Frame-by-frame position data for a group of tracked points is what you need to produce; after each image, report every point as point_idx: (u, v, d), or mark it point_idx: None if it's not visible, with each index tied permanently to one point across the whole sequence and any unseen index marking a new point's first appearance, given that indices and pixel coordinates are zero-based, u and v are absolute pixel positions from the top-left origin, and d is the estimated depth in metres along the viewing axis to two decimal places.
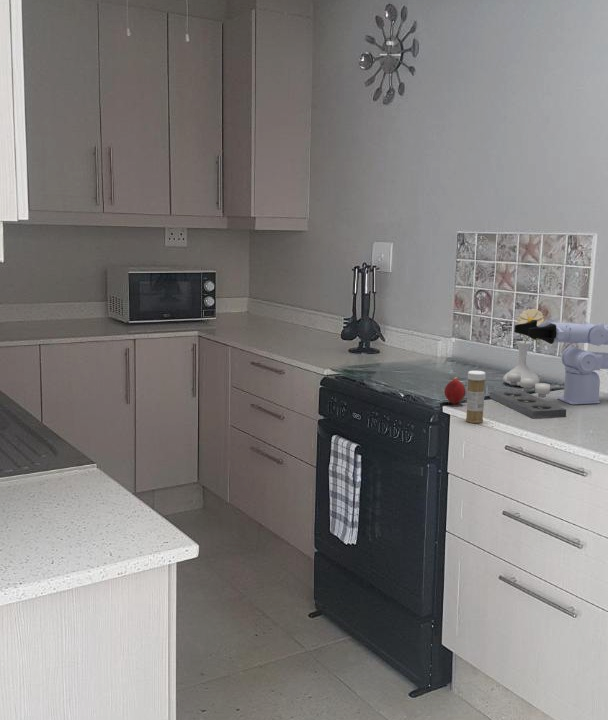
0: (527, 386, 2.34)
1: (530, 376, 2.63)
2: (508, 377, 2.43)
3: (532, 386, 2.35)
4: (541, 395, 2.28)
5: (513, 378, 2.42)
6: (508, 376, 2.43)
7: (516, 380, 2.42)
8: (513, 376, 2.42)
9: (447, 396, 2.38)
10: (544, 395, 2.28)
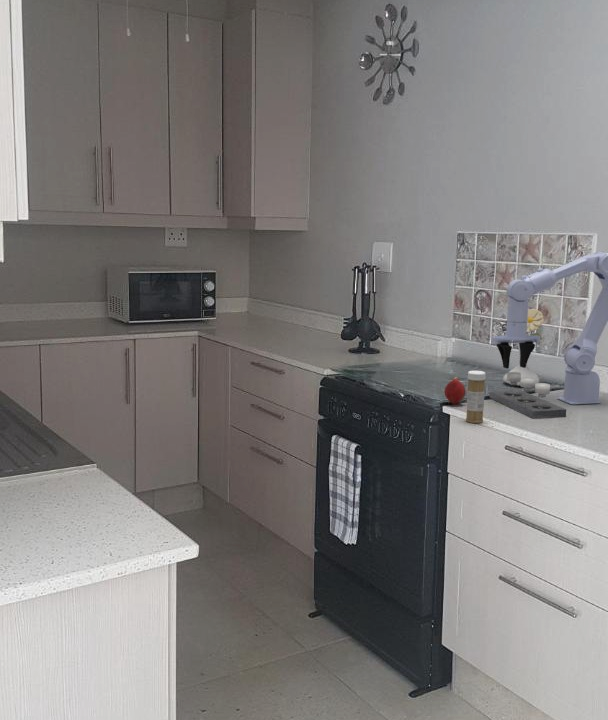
0: (527, 386, 2.34)
1: (530, 376, 2.63)
2: (508, 377, 2.43)
3: (532, 386, 2.35)
4: (541, 395, 2.28)
5: (513, 378, 2.42)
6: (508, 376, 2.43)
7: (516, 380, 2.42)
8: (513, 376, 2.42)
9: (447, 396, 2.38)
10: (544, 395, 2.28)
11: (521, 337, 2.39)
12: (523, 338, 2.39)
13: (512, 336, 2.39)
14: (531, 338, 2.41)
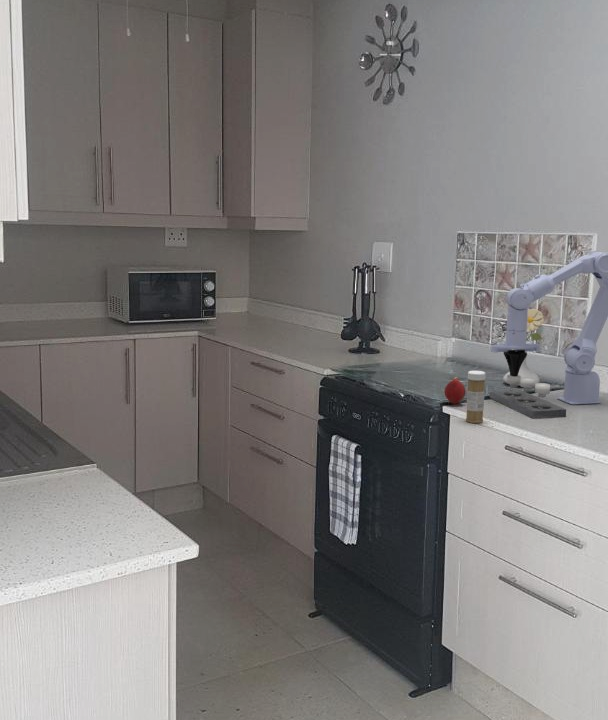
0: (527, 386, 2.34)
1: (530, 376, 2.63)
2: (508, 380, 2.43)
3: (532, 386, 2.35)
4: (541, 395, 2.28)
5: (513, 380, 2.42)
6: (508, 379, 2.43)
7: (516, 383, 2.42)
8: (512, 379, 2.42)
9: (447, 396, 2.38)
10: (544, 395, 2.28)
11: (520, 346, 2.39)
12: (522, 347, 2.40)
13: (511, 345, 2.40)
14: (530, 347, 2.41)
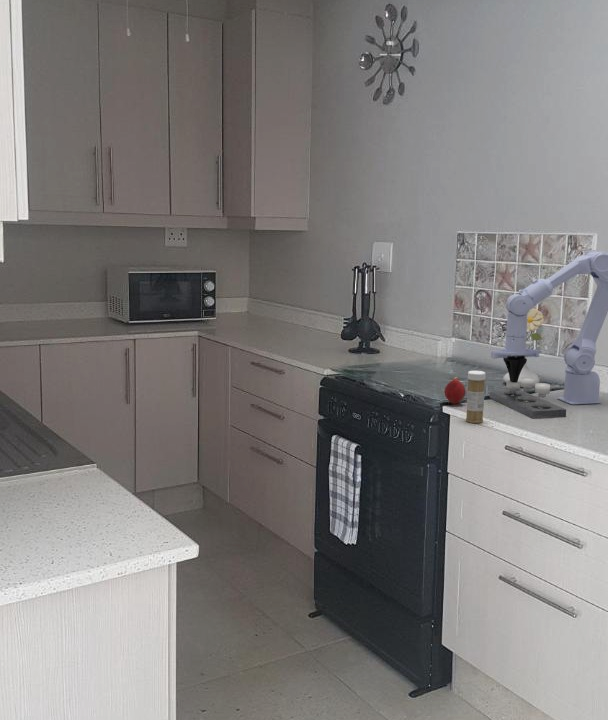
0: (527, 386, 2.34)
1: (530, 376, 2.63)
2: (507, 386, 2.43)
3: (532, 386, 2.35)
4: (541, 395, 2.28)
5: (513, 387, 2.42)
6: (507, 385, 2.43)
7: (515, 389, 2.42)
8: (512, 385, 2.42)
9: (447, 396, 2.38)
10: (544, 395, 2.28)
11: (520, 352, 2.40)
12: (522, 353, 2.40)
13: (511, 351, 2.40)
14: (530, 352, 2.42)
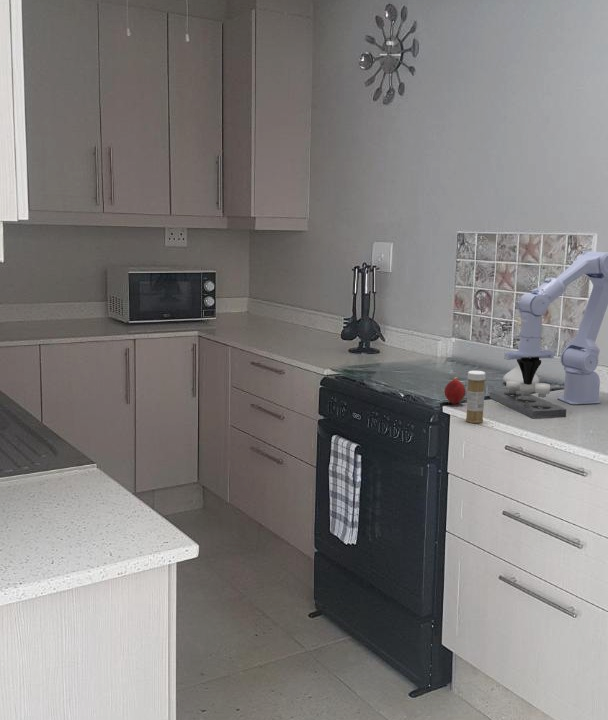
0: (527, 391, 2.35)
1: None
2: (507, 386, 2.43)
3: (532, 391, 2.35)
4: (541, 395, 2.28)
5: (513, 387, 2.42)
6: (507, 385, 2.43)
7: (515, 389, 2.42)
8: (512, 385, 2.42)
9: (447, 396, 2.38)
10: (544, 395, 2.28)
11: (535, 353, 2.32)
12: (537, 354, 2.32)
13: (525, 352, 2.32)
14: (545, 354, 2.34)
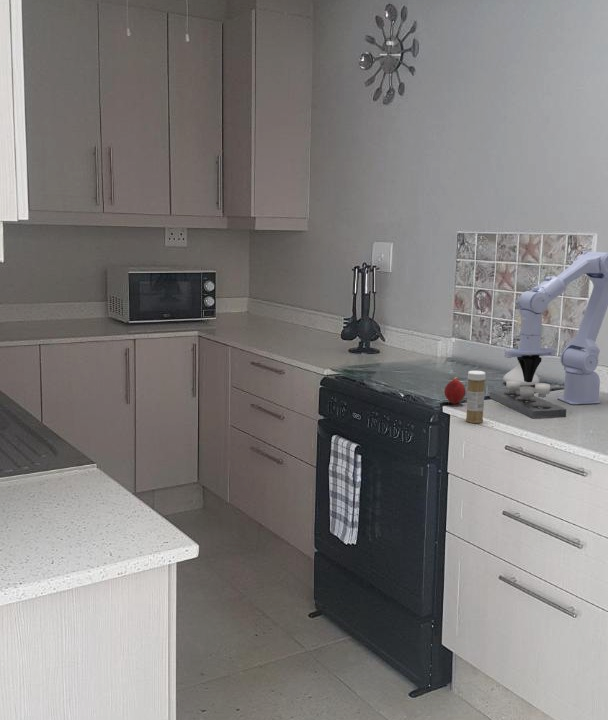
0: (526, 395, 2.35)
1: None
2: (507, 386, 2.43)
3: (531, 395, 2.35)
4: (541, 395, 2.28)
5: (513, 387, 2.42)
6: (507, 385, 2.43)
7: (515, 389, 2.42)
8: (512, 385, 2.42)
9: (447, 396, 2.38)
10: (544, 395, 2.28)
11: (535, 350, 2.32)
12: (537, 351, 2.32)
13: (526, 349, 2.32)
14: (545, 351, 2.34)
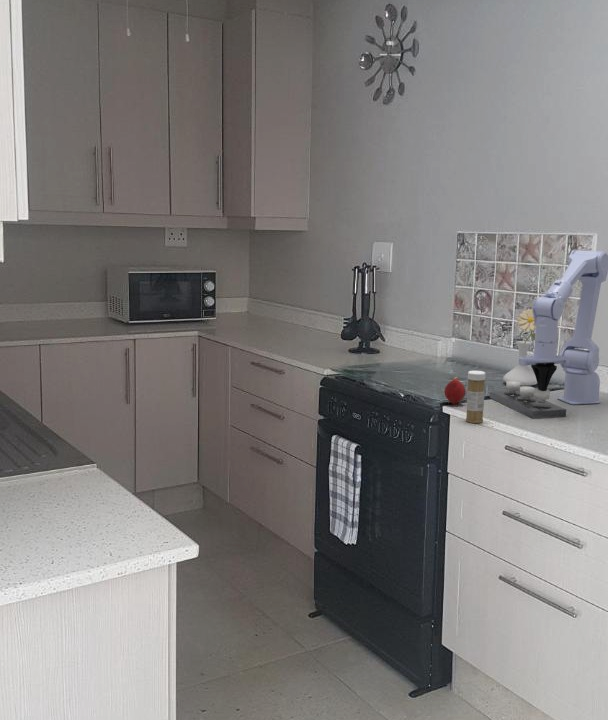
0: (526, 395, 2.35)
1: (530, 376, 2.63)
2: (507, 386, 2.43)
3: (531, 395, 2.35)
4: (541, 401, 2.28)
5: (513, 387, 2.42)
6: (507, 385, 2.43)
7: (515, 389, 2.42)
8: (512, 385, 2.42)
9: (447, 396, 2.38)
10: (544, 401, 2.28)
11: (550, 358, 2.24)
12: (552, 359, 2.24)
13: (541, 357, 2.25)
14: (560, 359, 2.26)
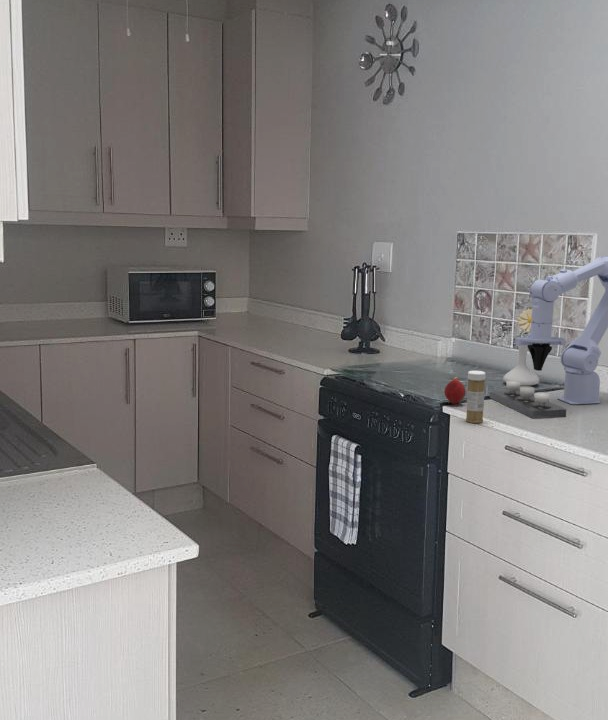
0: (526, 395, 2.35)
1: (530, 376, 2.63)
2: (507, 386, 2.43)
3: (531, 395, 2.35)
4: (540, 404, 2.28)
5: (513, 387, 2.42)
6: (507, 385, 2.43)
7: (515, 389, 2.42)
8: (512, 385, 2.42)
9: (447, 396, 2.38)
10: (543, 404, 2.29)
11: (546, 339, 2.33)
12: (548, 340, 2.33)
13: (536, 337, 2.33)
14: (556, 340, 2.35)
